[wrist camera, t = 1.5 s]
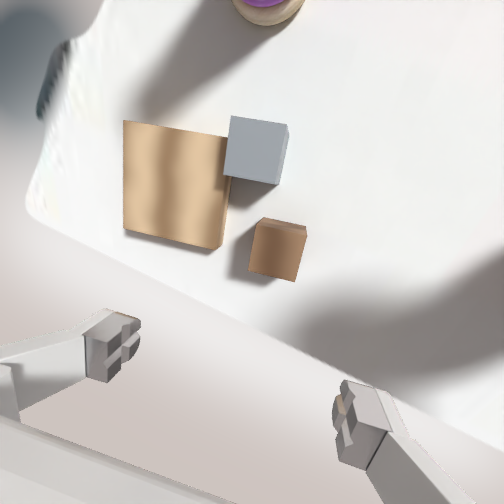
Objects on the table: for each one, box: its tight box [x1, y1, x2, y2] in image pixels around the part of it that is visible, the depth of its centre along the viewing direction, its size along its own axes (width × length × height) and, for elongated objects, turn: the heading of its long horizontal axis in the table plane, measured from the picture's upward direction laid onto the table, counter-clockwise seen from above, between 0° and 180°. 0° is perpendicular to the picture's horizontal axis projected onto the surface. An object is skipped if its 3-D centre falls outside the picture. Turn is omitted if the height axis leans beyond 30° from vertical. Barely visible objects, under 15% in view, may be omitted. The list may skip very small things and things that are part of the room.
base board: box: [123, 120, 232, 250], centre depth 27 cm, size 12×12×2 cm
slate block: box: [223, 116, 289, 184], centre depth 23 cm, size 5×5×5 cm
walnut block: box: [248, 217, 307, 282], centre depth 26 cm, size 5×5×5 cm
